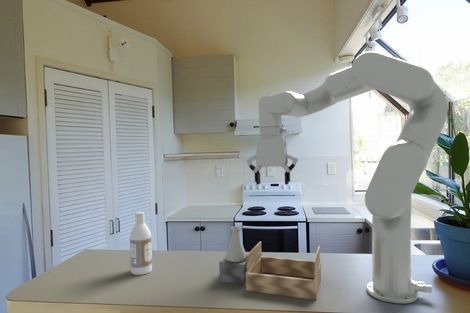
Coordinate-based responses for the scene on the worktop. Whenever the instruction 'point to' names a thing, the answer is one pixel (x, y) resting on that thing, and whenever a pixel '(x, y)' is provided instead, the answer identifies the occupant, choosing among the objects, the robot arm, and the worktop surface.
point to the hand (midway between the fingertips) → (272, 184)
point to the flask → (236, 247)
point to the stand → (232, 271)
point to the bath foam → (140, 247)
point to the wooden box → (281, 283)
